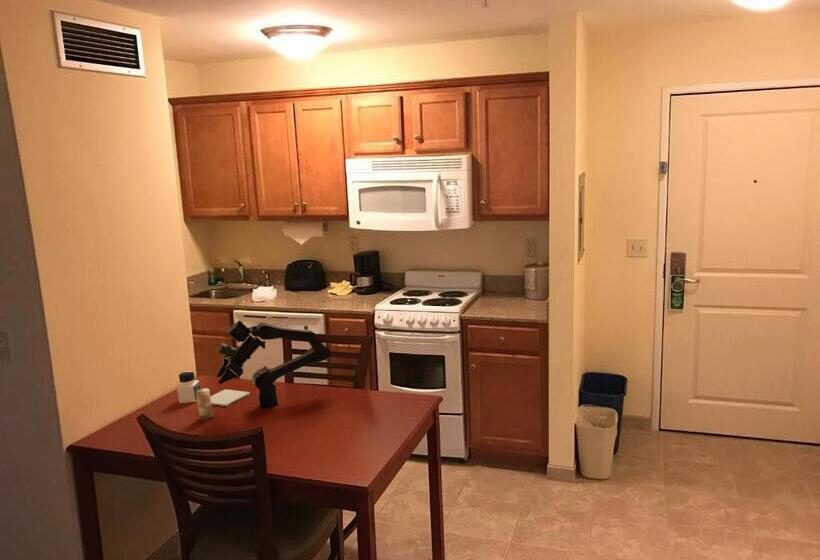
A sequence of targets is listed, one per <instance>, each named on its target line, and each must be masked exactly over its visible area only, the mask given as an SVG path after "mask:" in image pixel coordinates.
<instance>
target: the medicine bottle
mask: <svg viewBox="0 0 820 560" xmlns="http://www.w3.org/2000/svg"><path fill="white" fill-rule="evenodd" d="M178 379H179V385H178V386H177V387H176V391H177V397H178V402H179V404H188V402H189V403H197V397H196V391H197V390H200V389H201V386H200V380H198V379H197V380H196V375H195V372H194V371H192V370H188V371H183V372H181V373H180V374H179V375H178Z"/></svg>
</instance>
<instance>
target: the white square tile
mask: <svg viewBox="0 0 820 560" xmlns="http://www.w3.org/2000/svg"><path fill="white" fill-rule="evenodd" d="M249 394H250V395H251V392H249V391H242V390H234V389H227V388H226V389H222V390H220V391H218V392H217V393H215V394H212V395H210V397H211V404H213V405H212V406H215V405H221V406H220V407H223V406H227V407H229V406H231V405H232V404H231V403H233V402H235V401H237V400H239V399H241V398H243V397H245V396H246V397H248V396H250V395H249ZM247 395H248V396H247ZM246 397H245V398H246ZM243 399H244V398H243ZM241 400H242V399H241ZM239 401H240V400H239ZM237 402H238V401H237ZM235 403H236V402H235ZM230 404H231V405H230ZM233 404H234V403H233ZM228 405H229V406H228Z"/></svg>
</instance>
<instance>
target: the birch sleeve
mask: <svg viewBox="0 0 820 560" xmlns="http://www.w3.org/2000/svg"><path fill="white" fill-rule="evenodd" d="M196 397H197V401H196V403H197V409H198V416H199V417H198V418H199V420H200V419H201V420H200V421H207V420H206V419H209V420H211V419H210V418H212V417H213V416H215V415H214V411H213V405H212V404H211V392H210V389H209V388H205V387H204V388H200V390H197V391H196ZM213 418H214V417H213ZM213 418H212V419H213Z"/></svg>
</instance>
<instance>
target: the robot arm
mask: <svg viewBox="0 0 820 560" xmlns="http://www.w3.org/2000/svg"><path fill="white" fill-rule="evenodd" d="M226 333H227V335H229V336H230V337H231V338H232V339H233V340H235V341H236V342H237V343H241V344H240V345H237V346H236V347H234V346H233V345H228V344H226V343H223V342H221V344H220V346H219V348H218V353H219V354H221V355H223V356H222V357H223V358H222V359H223V363H222V365H221V367H220V369H219V371H218V372H217V374H216V377H217V378H220V379H219V380H218V382H217V383H218V384H219V385H221V384H223V383H226V382H228V381H231V380H234V379H235V378H239V377H241V376H242V375H243V374H244V369H243V367H244V364H245V363H246V362H247V361H248V360H250V359H251V358H252V355H253V354H255V352H256V351H257V350H258V349H259V348H260V347H261V348H262V349H263V350H266V341H267V340H276V339H286V340H287V339H289V340H297V341H298V340H299V341H307V342H308V344H309V345H310V348H309V349H308V350H307V351H306V352H304V353H302V354H300V355H299V356H296V357H294V358H292V359H289V360H287V361H286V362H284V363H281V364H280V365H277V366H275V367H272V368H268V367H267V365H266V366H265V365H264V366H263V367H262V368H260V369H256V371H255V372H254V373H253V374H252V376H251V378H252V379H251V380H252V383H253V384H254V386H255V388H256V389H258V394H257V396H258V404H259V406H260V407H261V409H265V408H270V407H276V406H279V402H278V396H277V389H276V388H277V386H276V384H275V382H276V381H277V380H278V379H280V378H282V377H284V376H286V375H288V374H289V373H292V372H295V371H297V370H299V369H301V368H302V367H305V366H307V365H309V364H313V363H315V364H316V363H321V362H323V361H324V362H325V361H326V360H329V358H330V356H331V349H330V347H328V346H326V344H324V343H322V341H321V340H320V339H319V338H318V336H316V333H315V332H314V331H312V330H311V329H307V330H306V329H300V328H299V329H297V328H288V327H287V328H286V327H280V326H276V325H274V324H270V323H268V322H265V321H264V322H263V321H262V322H259V323H258V324H257V325H253V326H250V327H248V326H247V325H245V324H244V322H242V321H241V320H240V319H238V321H236V322H235V323H233V324H232V325H230V326H229V328H228V329H227V332H226Z"/></svg>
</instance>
